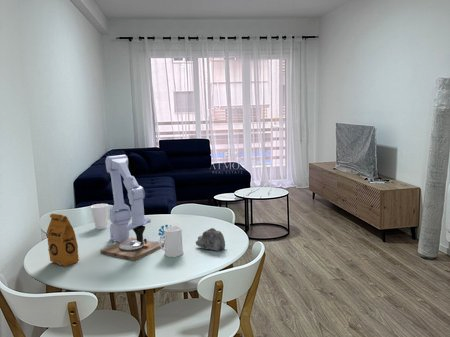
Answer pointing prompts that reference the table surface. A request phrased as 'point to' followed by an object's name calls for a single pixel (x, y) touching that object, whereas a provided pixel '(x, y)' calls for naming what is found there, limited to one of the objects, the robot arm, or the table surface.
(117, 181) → the robot arm
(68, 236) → the coffee package
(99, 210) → the foam cup
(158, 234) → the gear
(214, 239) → the mineral rock
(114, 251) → the base board
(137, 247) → the flange
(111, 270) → the table surface
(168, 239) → the mug
